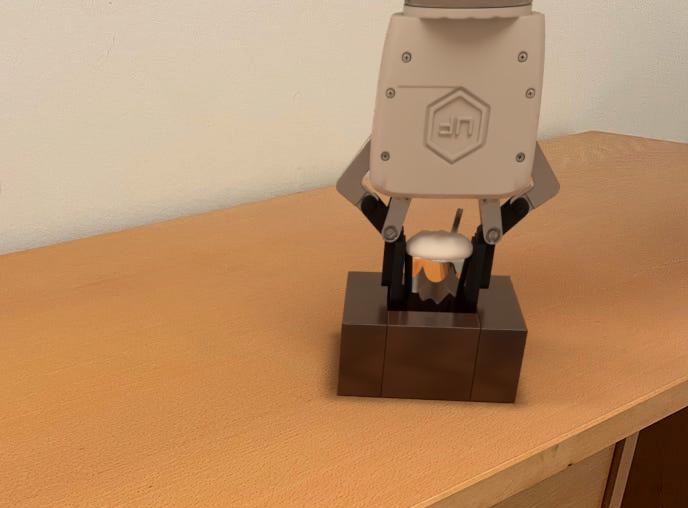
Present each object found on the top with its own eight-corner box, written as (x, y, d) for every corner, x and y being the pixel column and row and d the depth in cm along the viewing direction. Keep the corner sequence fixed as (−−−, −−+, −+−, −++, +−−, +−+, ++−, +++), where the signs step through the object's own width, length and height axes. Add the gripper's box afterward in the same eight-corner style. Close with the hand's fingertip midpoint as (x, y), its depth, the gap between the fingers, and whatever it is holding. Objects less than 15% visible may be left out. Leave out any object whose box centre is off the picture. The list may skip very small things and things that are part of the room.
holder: (499, 341, 75) (510, 275, 72) (515, 403, 66) (528, 329, 63) (343, 335, 77) (348, 270, 74) (336, 395, 67) (341, 323, 64)
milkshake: (469, 356, 72) (492, 212, 66) (439, 379, 68) (461, 229, 62) (412, 344, 74) (430, 204, 68) (381, 366, 70) (397, 219, 64)
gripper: (322, -9, 56) (308, 311, 66) (631, -13, 53) (564, 319, 64) (328, -16, 61) (315, 278, 72) (607, -20, 59) (550, 285, 70)
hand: (432, 294), depth 68 cm, fingers closed on milkshake, 4 cm apart
